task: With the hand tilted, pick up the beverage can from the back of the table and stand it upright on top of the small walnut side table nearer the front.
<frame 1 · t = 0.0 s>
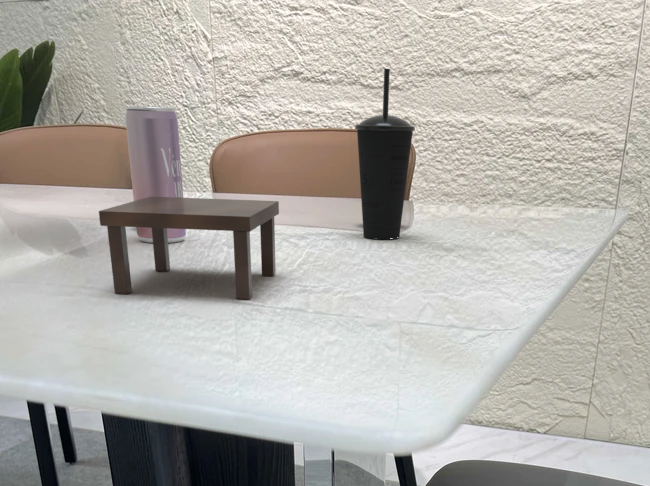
side table: (200, 283, 73), on the table
beverage can: (162, 241, 97), on the table
drinking cup: (381, 238, 104), on the table
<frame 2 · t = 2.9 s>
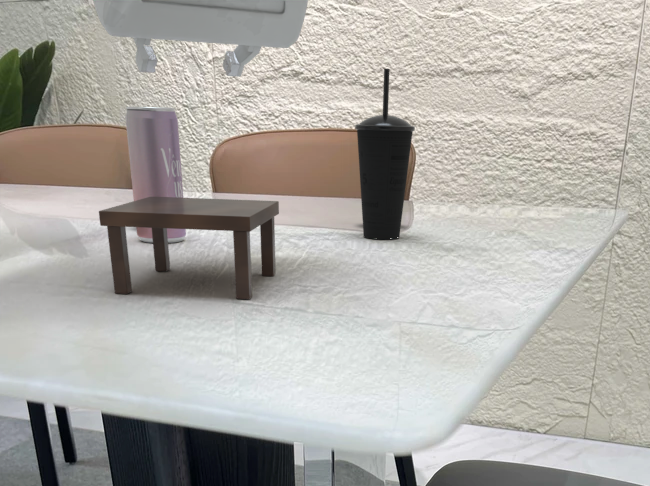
hand: (189, 70, 79), 19 cm above the table, tool tilted 45°, fingers open, 8 cm apart
nothing on the table moved.
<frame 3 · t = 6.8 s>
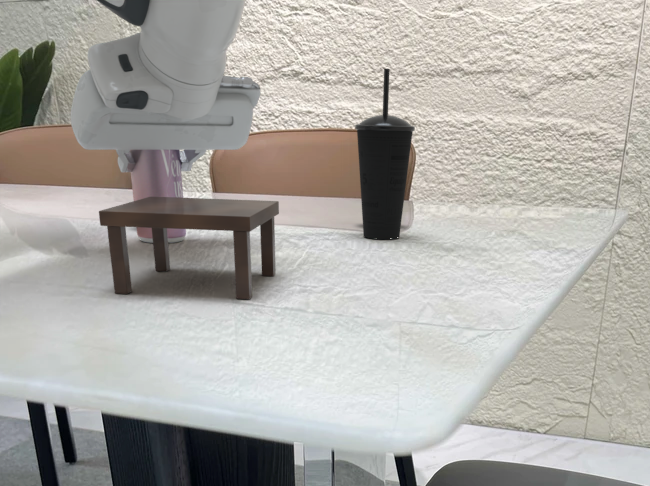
hand: (153, 167, 93), 8 cm above the table, tool tilted 45°, fingers closed on beverage can, 6 cm apart
beverage can: (162, 241, 97), on the table, touching gripper
everything else where it was.
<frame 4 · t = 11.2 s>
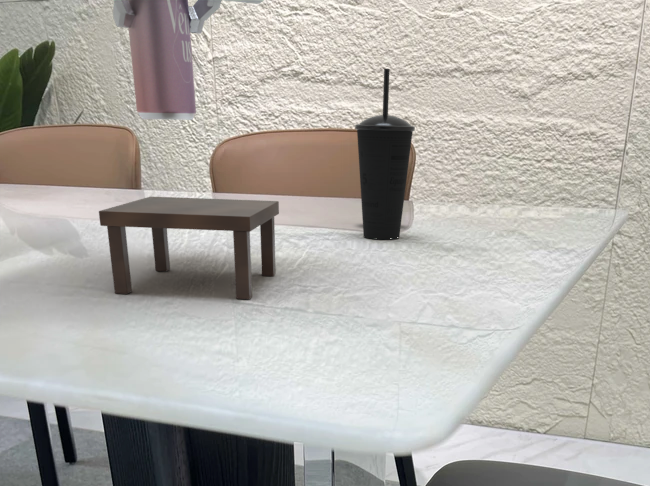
hand: (157, 25, 77), 22 cm above the table, tool tilted 45°, fingers closed on beverage can, 6 cm apart
beverage can: (167, 121, 80), point 14 cm above the table, touching gripper
everything else where it was.
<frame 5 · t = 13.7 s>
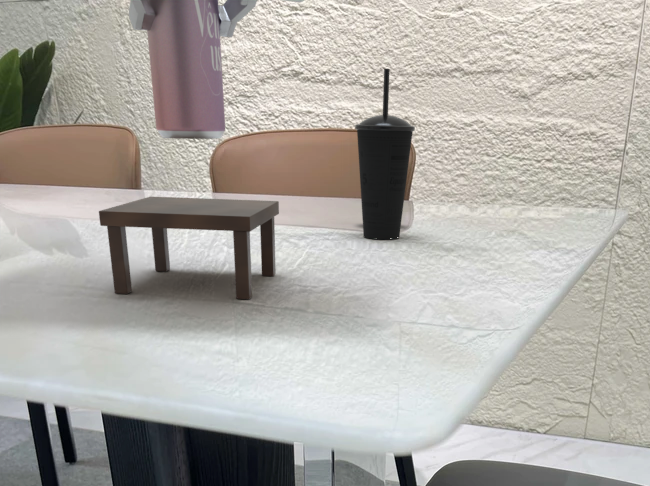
hand: (180, 28, 65), 21 cm above the table, tool tilted 45°, fingers closed on beverage can, 6 cm apart
beverage can: (191, 140, 68), point 12 cm above the table, touching gripper
everything else where it was.
when the fingers open (15 cm above the table, at t = 15.9 s): beverage can stays where it is, resting on side table.
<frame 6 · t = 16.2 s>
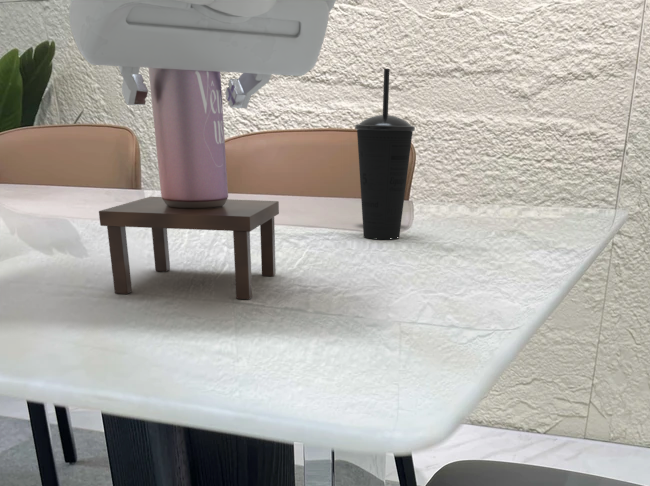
hand: (185, 101, 67), 16 cm above the table, tool tilted 45°, fingers open, 8 cm apart
beverage can: (195, 207, 70), point 7 cm above the table, touching side table
everything else where it was.
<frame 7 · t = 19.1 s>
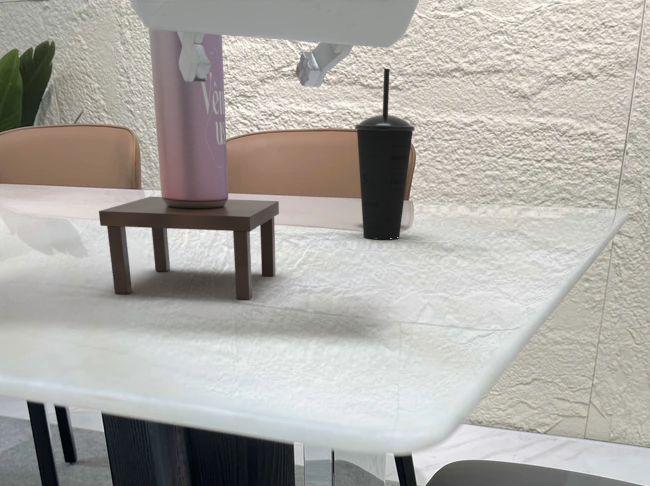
hand: (251, 77, 57), 17 cm above the table, tool tilted 45°, fingers open, 8 cm apart
nothing on the table moved.
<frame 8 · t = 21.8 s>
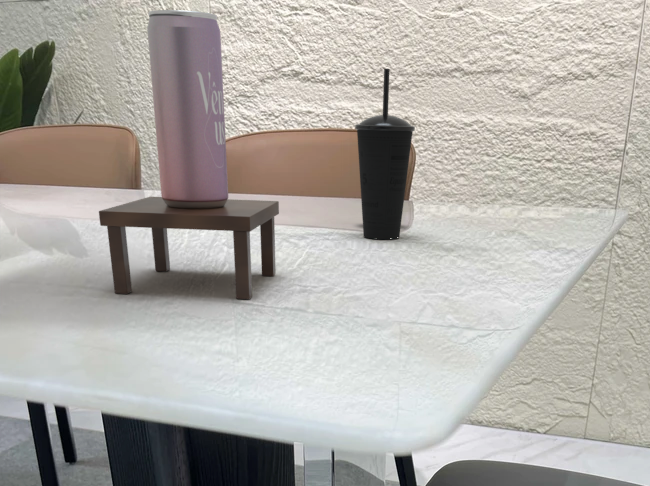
nothing on the table moved.
at the end: beverage can inside the target area on the side table (0.1 cm from its centre), point 6.8 cm above the side table's base; beverage can tilted 0°; the gripper is holding nothing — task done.
